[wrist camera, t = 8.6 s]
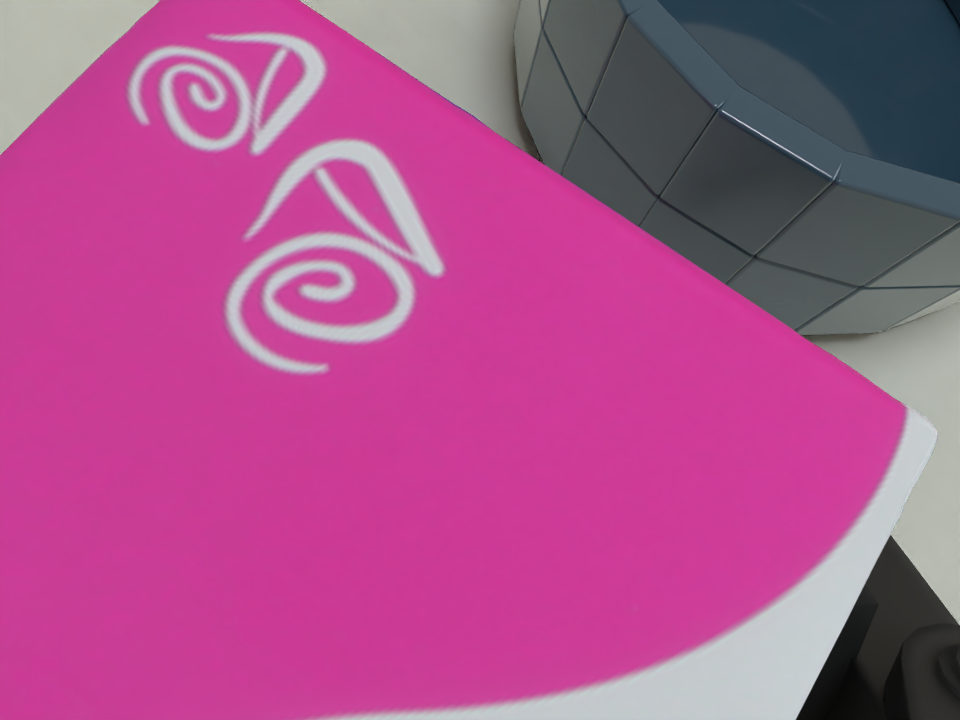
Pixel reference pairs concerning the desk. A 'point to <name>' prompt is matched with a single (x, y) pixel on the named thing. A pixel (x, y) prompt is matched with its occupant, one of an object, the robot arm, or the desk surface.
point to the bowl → (765, 142)
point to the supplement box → (393, 415)
